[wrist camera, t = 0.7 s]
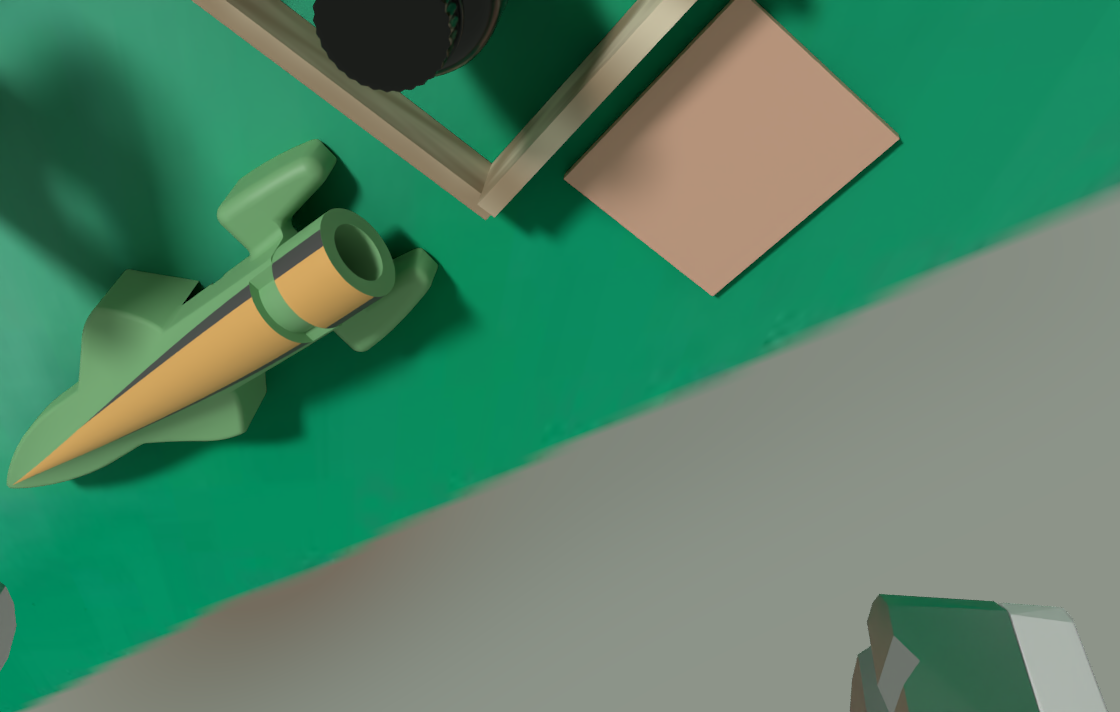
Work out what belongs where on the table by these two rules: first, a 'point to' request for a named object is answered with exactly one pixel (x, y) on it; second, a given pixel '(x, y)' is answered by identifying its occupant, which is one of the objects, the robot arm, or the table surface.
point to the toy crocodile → (222, 326)
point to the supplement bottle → (403, 37)
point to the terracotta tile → (730, 147)
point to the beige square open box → (421, 140)
